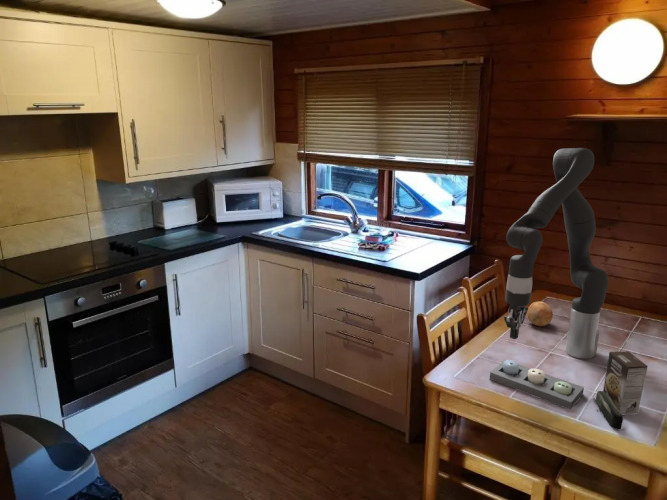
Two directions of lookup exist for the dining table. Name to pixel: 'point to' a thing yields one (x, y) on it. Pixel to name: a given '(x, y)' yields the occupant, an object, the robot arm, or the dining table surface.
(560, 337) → the dining table surface
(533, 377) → the cream button
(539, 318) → the tan round ball
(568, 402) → the button board
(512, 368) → the blue button
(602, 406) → the mobile phone
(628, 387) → the coffee box
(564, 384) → the sage button
